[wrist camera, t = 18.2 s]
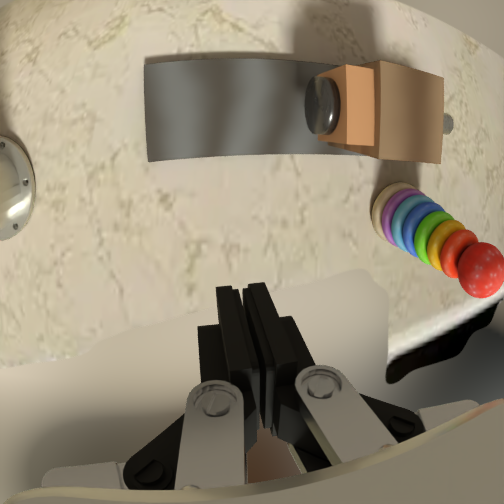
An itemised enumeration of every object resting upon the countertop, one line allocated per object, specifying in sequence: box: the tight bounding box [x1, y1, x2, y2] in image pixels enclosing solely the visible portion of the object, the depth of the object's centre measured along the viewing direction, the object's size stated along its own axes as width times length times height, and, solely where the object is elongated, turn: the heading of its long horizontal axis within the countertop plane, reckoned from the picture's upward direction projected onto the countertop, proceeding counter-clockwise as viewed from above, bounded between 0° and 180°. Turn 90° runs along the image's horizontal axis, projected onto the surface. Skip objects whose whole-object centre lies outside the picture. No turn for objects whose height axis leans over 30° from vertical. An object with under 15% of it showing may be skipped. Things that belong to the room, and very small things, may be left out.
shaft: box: [304, 76, 453, 135], centre depth 25 cm, size 16×5×5 cm, turn 91°
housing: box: [144, 59, 444, 164], centre depth 24 cm, size 26×10×11 cm, turn 91°
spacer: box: [317, 64, 375, 146], centre depth 23 cm, size 2×6×6 cm, turn 1°
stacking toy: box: [372, 182, 504, 298], centre depth 28 cm, size 8×8×19 cm
